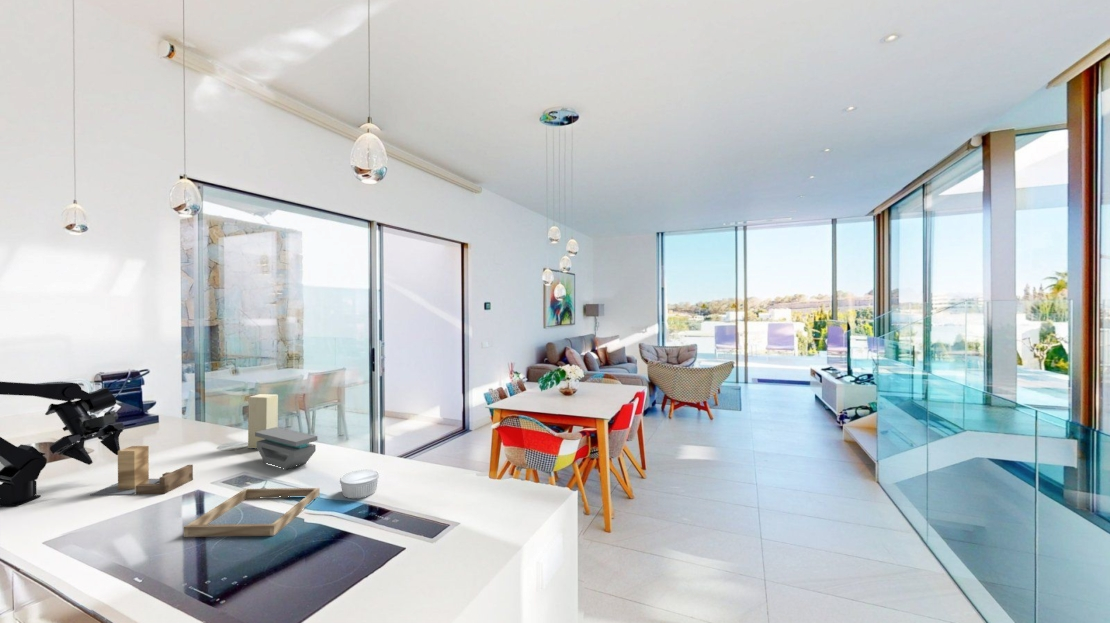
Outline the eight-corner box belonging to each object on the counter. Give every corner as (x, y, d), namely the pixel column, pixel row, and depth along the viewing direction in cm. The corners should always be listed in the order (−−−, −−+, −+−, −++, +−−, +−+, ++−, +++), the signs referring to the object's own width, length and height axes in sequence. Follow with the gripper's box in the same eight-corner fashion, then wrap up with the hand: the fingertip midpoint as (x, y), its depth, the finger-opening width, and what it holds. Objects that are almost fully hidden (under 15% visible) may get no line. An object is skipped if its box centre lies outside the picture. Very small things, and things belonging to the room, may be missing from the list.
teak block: (134, 489, 138) (134, 450, 138) (118, 489, 137) (117, 451, 137) (148, 482, 143) (148, 445, 143) (132, 483, 142) (132, 446, 142)
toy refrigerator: (279, 444, 184) (279, 393, 184) (266, 449, 177) (266, 397, 176) (261, 443, 185) (261, 393, 184) (247, 449, 177) (247, 397, 177)
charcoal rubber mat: (131, 494, 134) (131, 493, 134) (90, 495, 134) (90, 494, 134) (164, 479, 146) (164, 478, 146) (127, 479, 146) (127, 478, 146)
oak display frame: (274, 535, 111) (273, 525, 111) (183, 536, 110) (183, 526, 110) (319, 496, 134) (319, 488, 134) (245, 497, 133) (245, 488, 133)
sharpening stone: (255, 461, 164) (254, 432, 164) (276, 455, 171) (276, 427, 171) (296, 473, 152) (295, 442, 152) (317, 466, 159) (317, 436, 159)
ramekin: (364, 502, 130) (364, 484, 130) (331, 498, 132) (331, 481, 132) (386, 487, 141) (386, 470, 141) (355, 484, 143) (355, 468, 143)
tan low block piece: (164, 493, 135) (164, 477, 135) (135, 494, 135) (135, 477, 135) (192, 479, 146) (192, 464, 146) (166, 480, 146) (166, 464, 146)
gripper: (67, 410, 131) (98, 453, 132) (125, 398, 150) (152, 436, 150) (34, 432, 131) (66, 475, 131) (96, 417, 149) (123, 455, 150)
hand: (105, 458), depth 141 cm, fingers open, 9 cm apart
